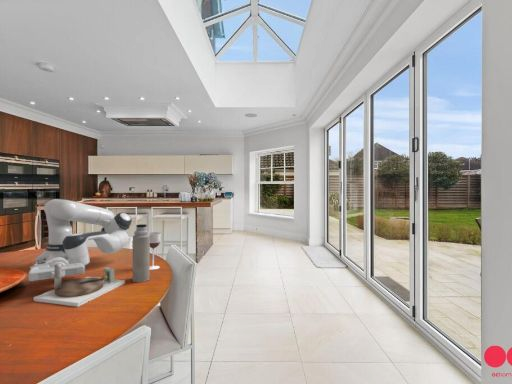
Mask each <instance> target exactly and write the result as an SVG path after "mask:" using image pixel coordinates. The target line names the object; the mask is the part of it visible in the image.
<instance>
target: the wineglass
mask: <svg viewBox="0 0 512 384" xmlns="http://www.w3.org/2000/svg"><path fill="white" fill-rule="evenodd" d="M148 235H150V249H152V262H151V263H152V265H150V267H149V271H150V270H158V269H160V268H161V267H160V265H155V248H158V247H159V246H160V243H161V240H162V239H161V237H162V233H161V232H155V231H154V232H153V231H152V232H149V233H148Z"/></svg>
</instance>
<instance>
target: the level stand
mask: <svg viewBox="0 0 512 384" xmlns="http://www.w3.org/2000/svg"><path fill="white" fill-rule="evenodd" d="M104 275H106V276H107V279H106V280H103V287H102V288H101V289H99V290H98V291H95V292H92V293H89V294H85V295H80V296H72V297H63V296H58V295H56V294H55V289H51V290H48V291H46V292H43V293H42V294H39V295H36V296H34V297H33V302H39V303H46V304H55V305H61V306H62V305H63V306H67V307H68V306H69V307H76V308H79V307H80V306H82V305H84V304H86V303H89V302H91V301H92V300H95V299H97V298H99V297H100V296H103V295H105V294H107V293H108V292H110V291H113V290H115V289H117V288H119V287H121V286H123V285H126V284H125V283H126V280H123V279H115V269H114V268H111V267H108V266H107V267H103V276H104ZM89 277H90V276H86V277H84V278H89ZM92 277H93V276H92ZM93 278H97V277H93ZM88 301H89V302H88Z"/></svg>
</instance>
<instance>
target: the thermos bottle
mask: <svg viewBox="0 0 512 384" xmlns="http://www.w3.org/2000/svg"><path fill="white" fill-rule="evenodd" d="M147 227H148V226H147V224H136V229H135V230H134V233H133V236H132V274H131V275H132V277H131V278H132V282H134V283H144V282H146V281H149V280H150V270H149V267H150V266H151V265H150V263H151V262H150V257H151V256H150V255H151V254H150V251H151V247H150V235H148V233H150V232H149V230H147Z"/></svg>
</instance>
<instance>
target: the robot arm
mask: <svg viewBox="0 0 512 384" xmlns="http://www.w3.org/2000/svg"><path fill="white" fill-rule="evenodd" d="M43 208H44V209H43V210H44V214H45V218H46V223H47V228H48V243H47V244H46V245H44V247H45V250H44V251H43V252H42V253H40V254H39V255H38V256H37V257H36V258H35V263H34V264H33V265H31V266H29V271H28V282H36V281H41V280H42V281H43V280H49V279H54V265H56V264H62V267H61V279H63V278H64V277H69V276H76V275H77V276H78V275H81V274H83V275H84V273H86V268H87V266H88V265H89V264H90V263H91V261H90V260H91V259H90V255H89V248H88V241H93V242H94V243H95V244H96V246H97V248H98V250H99V251H100V252H101V253H104V254H108V255H110V254H113V253H116V252H118V251H119V250H122V248H124V247H125V246H126V245H127V244H128V243H129V240H130V237H129V234H128V233H127V230H129V229H130V227H131V225H132V222H133V221H132V217H131V216H130V215H129V214H128V213H126V212H123V211H122V212H118V213H117V214H116V215H115V214H114V212H113V211H111V210H109V209H107V208H104V207H99V206H95V205H90V204H85V203H83V202H82V203H81V202H77V201H74V200H69V199H62V198H61V199H60V198H54V199H51V200H49V201H47V202H46V203H45V204H44V207H43ZM71 222H77V223H82V224H87V225H88V224H90V225H95V226H96V225H98V226H100V227H101V229H100V230H99V231H91V232H90V231H89V232H83V233H80V232H79V233H73V227H72V225H71Z"/></svg>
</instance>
